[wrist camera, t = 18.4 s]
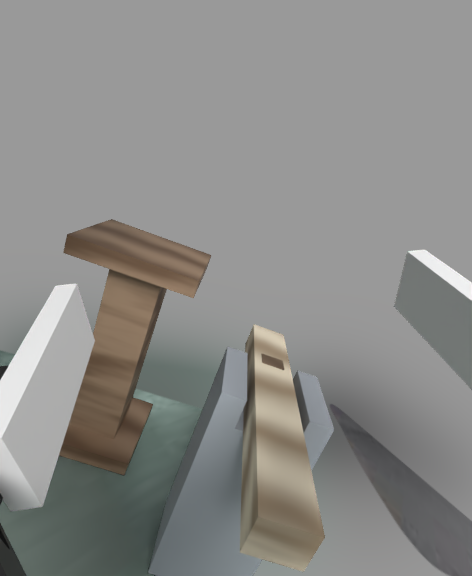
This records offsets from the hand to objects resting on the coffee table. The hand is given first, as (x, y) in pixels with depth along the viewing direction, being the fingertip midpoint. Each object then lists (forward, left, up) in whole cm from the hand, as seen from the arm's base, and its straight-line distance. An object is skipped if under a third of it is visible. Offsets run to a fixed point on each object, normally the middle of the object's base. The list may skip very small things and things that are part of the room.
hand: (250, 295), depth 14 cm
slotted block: (+4, +16, -35) cm, 39 cm away
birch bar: (+5, +15, -15) cm, 22 cm away
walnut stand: (-14, +25, -35) cm, 46 cm away
